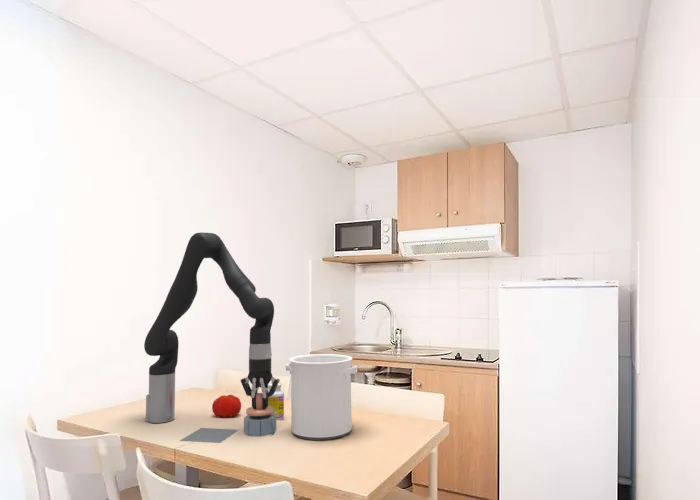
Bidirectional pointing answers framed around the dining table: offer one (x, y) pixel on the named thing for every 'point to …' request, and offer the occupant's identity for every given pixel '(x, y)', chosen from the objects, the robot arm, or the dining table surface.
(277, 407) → the supplement bottle
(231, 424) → the dining table surface
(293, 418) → the bucket
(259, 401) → the lid
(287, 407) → the dining table surface
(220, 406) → the tomato
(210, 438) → the mat
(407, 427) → the dining table surface
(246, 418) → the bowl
